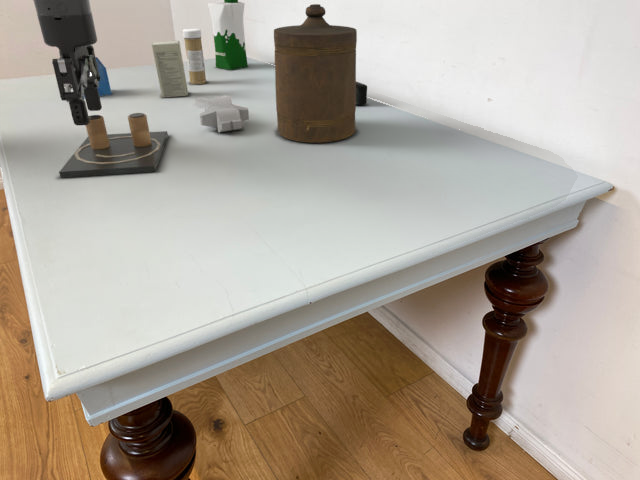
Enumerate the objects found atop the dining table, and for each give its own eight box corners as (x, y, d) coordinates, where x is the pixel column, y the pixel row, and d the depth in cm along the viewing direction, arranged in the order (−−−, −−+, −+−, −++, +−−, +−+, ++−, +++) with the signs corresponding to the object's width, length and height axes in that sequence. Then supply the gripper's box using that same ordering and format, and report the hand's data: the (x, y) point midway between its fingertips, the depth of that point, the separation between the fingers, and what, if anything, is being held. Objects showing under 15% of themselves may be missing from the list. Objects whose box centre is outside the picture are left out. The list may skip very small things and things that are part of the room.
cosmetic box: (188, 92, 121) (180, 40, 115) (187, 96, 117) (180, 42, 111) (161, 93, 120) (152, 41, 113) (160, 98, 116) (151, 43, 110)
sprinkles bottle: (194, 80, 132) (187, 27, 126) (209, 81, 132) (203, 28, 125) (186, 84, 129) (179, 30, 122) (202, 85, 128) (195, 30, 121)
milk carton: (252, 66, 150) (246, -6, 140) (229, 71, 144) (222, -4, 134) (233, 63, 155) (227, -7, 145) (211, 67, 149) (202, -5, 139)
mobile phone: (369, 83, 107) (328, 71, 117) (359, 85, 105) (318, 72, 115) (368, 105, 109) (328, 91, 119) (358, 108, 108) (318, 93, 118)
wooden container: (328, 116, 101) (328, 0, 90) (370, 135, 90) (376, 5, 79) (264, 127, 95) (256, 3, 84) (301, 149, 84) (297, 9, 73)
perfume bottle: (77, 93, 120) (64, 42, 114) (102, 89, 124) (90, 40, 118) (86, 98, 116) (73, 45, 110) (111, 94, 120) (100, 42, 114)
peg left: (89, 150, 81) (81, 119, 78) (93, 144, 84) (86, 114, 81) (107, 148, 81) (100, 118, 79) (111, 143, 84) (104, 114, 81)
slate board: (60, 178, 73) (58, 171, 73) (90, 140, 89) (88, 134, 88) (155, 171, 75) (153, 165, 74) (168, 136, 90) (167, 130, 90)
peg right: (132, 147, 82) (125, 117, 79) (135, 141, 85) (129, 112, 82) (150, 146, 82) (144, 116, 80) (152, 140, 85) (147, 111, 82)
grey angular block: (205, 116, 87) (187, 90, 98) (208, 142, 90) (189, 114, 101) (255, 110, 91) (232, 85, 101) (256, 135, 94) (233, 108, 104)
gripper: (52, 6, 78) (77, 106, 86) (19, 15, 66) (51, 131, 74) (101, 6, 79) (120, 105, 87) (77, 15, 67) (102, 129, 75)
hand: (89, 117), depth 81 cm, fingers open, 8 cm apart
